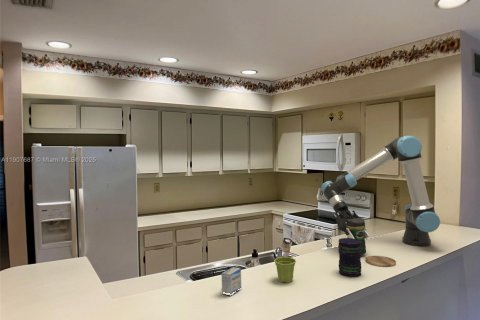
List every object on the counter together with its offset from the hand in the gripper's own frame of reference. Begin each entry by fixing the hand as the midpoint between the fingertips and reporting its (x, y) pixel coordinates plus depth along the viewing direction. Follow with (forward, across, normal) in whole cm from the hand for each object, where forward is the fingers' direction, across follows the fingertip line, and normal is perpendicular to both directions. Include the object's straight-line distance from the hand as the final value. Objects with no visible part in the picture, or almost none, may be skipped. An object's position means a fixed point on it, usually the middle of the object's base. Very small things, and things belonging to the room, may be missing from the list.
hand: (360, 238), depth 169 cm
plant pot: (+13, +52, 0) cm, 54 cm away
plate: (+14, -3, +1) cm, 15 cm away
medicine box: (+13, +78, 0) cm, 79 cm away
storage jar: (+18, +22, +4) cm, 28 cm away
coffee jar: (+4, 0, -8) cm, 9 cm away
